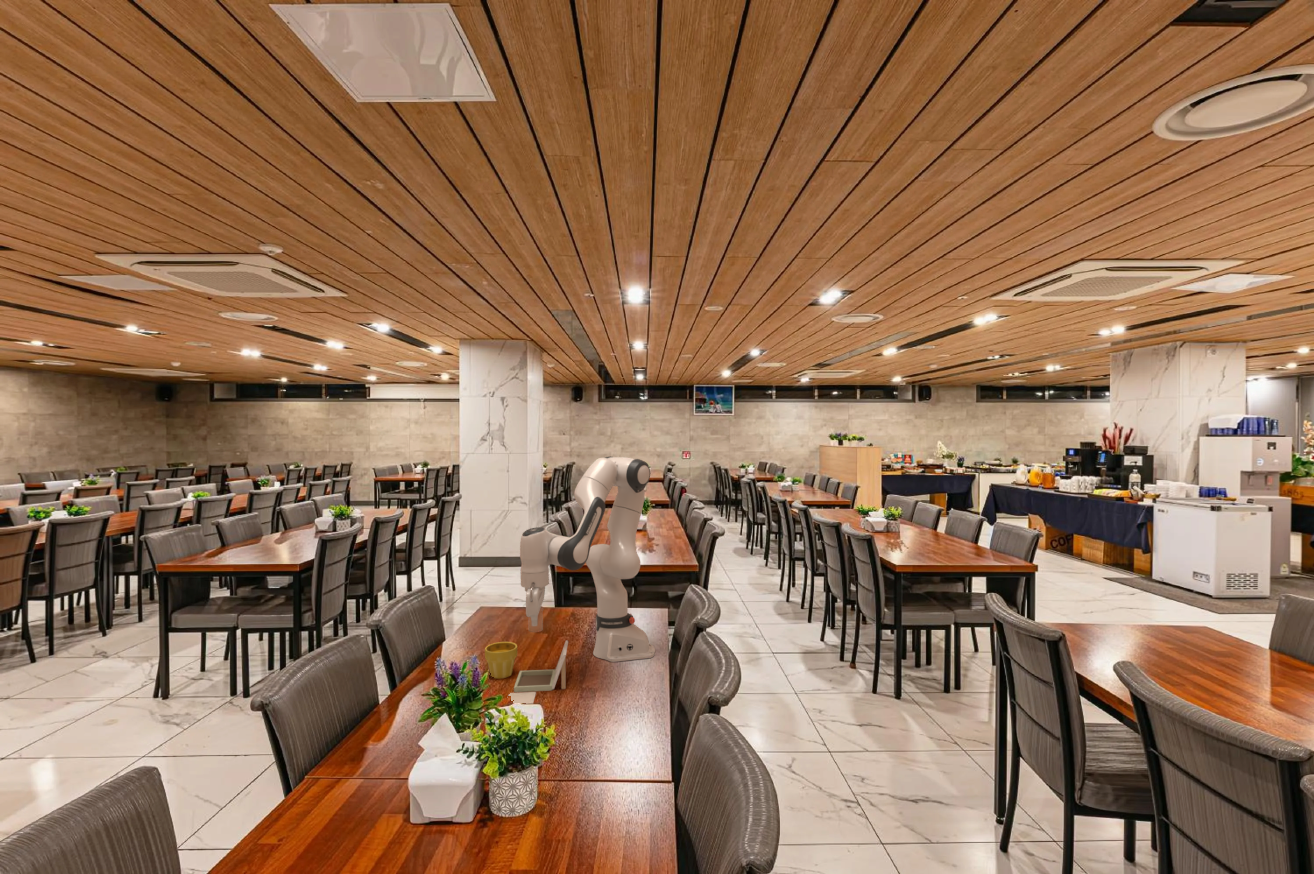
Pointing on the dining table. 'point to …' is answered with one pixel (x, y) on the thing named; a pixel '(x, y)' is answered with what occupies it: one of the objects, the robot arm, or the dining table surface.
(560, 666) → the propped lid
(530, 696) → the plate
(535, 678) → the shallow square tray
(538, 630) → the terracotta pot
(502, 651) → the plant pot
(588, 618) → the dining table surface
